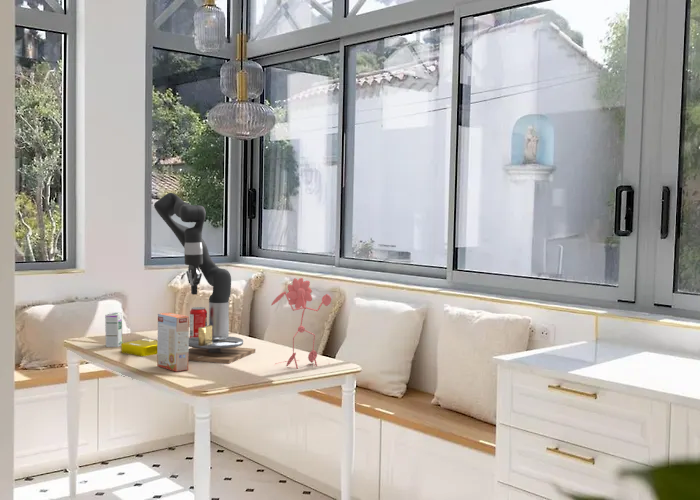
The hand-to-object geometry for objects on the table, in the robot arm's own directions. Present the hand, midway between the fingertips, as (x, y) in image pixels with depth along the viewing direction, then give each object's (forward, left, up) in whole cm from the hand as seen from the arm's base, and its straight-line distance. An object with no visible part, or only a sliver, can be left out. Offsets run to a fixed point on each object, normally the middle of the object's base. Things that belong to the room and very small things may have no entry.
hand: (194, 294), depth 324 cm
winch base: (-2, +9, -26) cm, 27 cm away
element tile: (+3, -22, -26) cm, 34 cm away
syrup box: (-4, -41, -26) cm, 49 cm away
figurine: (+2, +48, -26) cm, 54 cm away
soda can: (-33, -15, -26) cm, 44 cm away
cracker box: (+27, +6, -26) cm, 38 cm away
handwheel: (-1, +9, -20) cm, 22 cm away
